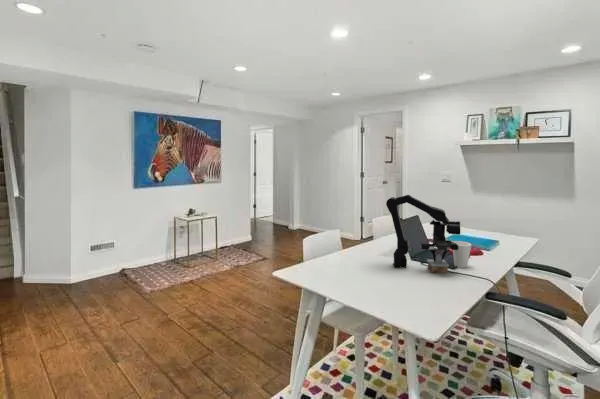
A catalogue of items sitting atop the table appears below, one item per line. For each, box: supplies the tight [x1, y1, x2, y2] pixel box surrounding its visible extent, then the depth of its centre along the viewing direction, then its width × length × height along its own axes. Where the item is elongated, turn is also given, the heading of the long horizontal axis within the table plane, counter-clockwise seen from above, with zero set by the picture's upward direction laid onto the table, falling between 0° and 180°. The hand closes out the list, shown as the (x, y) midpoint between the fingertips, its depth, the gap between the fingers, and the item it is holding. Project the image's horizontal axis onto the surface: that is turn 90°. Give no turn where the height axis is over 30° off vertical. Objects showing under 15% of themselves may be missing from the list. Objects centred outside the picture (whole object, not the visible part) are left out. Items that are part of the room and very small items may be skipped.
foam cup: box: [452, 240, 472, 269], centre depth 188 cm, size 10×9×13 cm
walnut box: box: [427, 262, 449, 275], centre depth 181 cm, size 8×8×4 cm
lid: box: [426, 253, 450, 268], centre depth 181 cm, size 9×9×5 cm
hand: (437, 261), depth 181 cm, fingers open, 3 cm apart
